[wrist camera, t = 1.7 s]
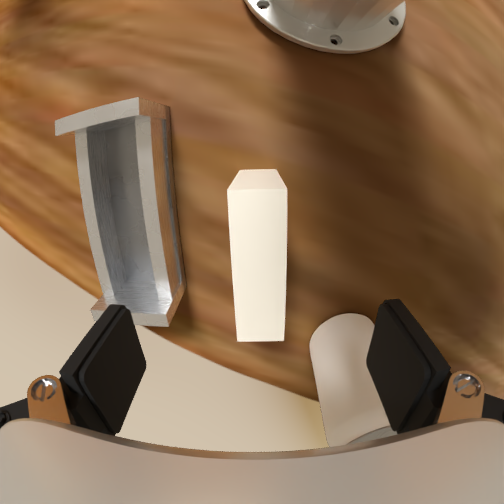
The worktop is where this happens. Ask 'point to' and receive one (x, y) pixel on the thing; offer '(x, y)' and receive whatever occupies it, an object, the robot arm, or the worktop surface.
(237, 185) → the plain white block
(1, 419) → the robot arm
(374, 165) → the worktop surface
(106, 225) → the track
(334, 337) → the can
